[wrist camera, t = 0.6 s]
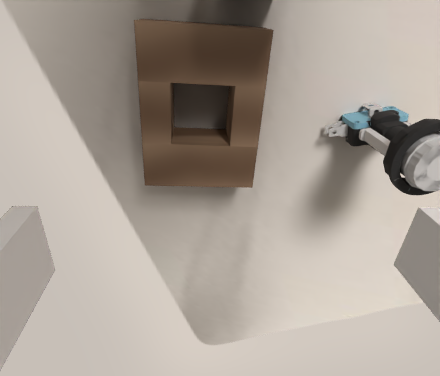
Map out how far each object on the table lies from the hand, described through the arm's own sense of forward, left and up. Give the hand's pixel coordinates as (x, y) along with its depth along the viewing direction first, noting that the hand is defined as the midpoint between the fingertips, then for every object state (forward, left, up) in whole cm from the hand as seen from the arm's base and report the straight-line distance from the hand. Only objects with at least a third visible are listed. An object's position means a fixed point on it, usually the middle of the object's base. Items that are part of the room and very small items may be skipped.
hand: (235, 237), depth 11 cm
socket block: (0, -1, -18) cm, 18 cm away
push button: (+1, +14, -18) cm, 23 cm away
